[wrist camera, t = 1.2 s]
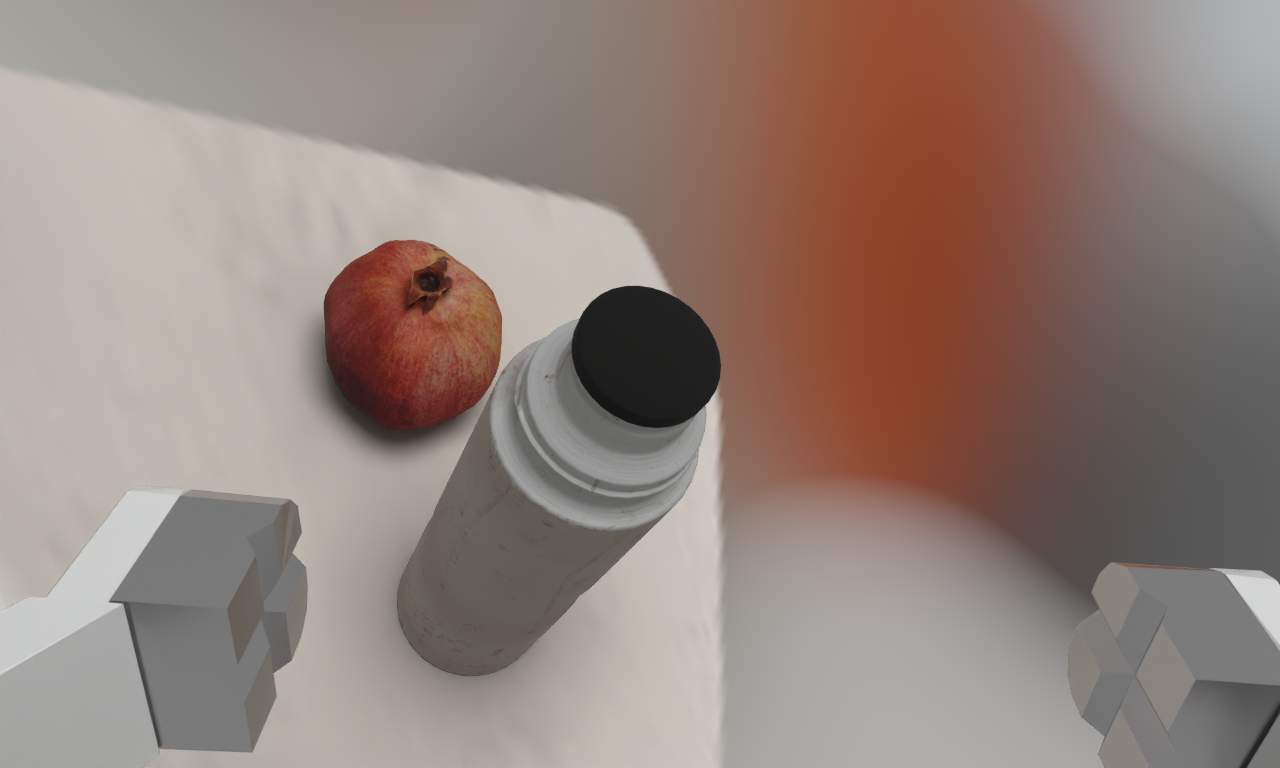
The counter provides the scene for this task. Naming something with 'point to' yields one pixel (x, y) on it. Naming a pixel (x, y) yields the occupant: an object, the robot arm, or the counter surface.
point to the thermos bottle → (560, 477)
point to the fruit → (411, 335)
